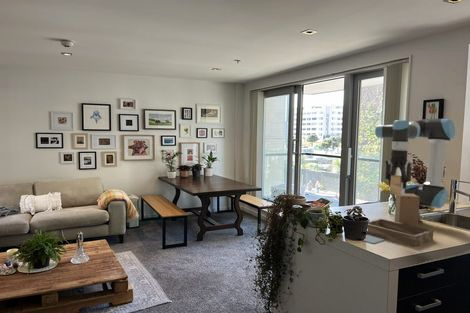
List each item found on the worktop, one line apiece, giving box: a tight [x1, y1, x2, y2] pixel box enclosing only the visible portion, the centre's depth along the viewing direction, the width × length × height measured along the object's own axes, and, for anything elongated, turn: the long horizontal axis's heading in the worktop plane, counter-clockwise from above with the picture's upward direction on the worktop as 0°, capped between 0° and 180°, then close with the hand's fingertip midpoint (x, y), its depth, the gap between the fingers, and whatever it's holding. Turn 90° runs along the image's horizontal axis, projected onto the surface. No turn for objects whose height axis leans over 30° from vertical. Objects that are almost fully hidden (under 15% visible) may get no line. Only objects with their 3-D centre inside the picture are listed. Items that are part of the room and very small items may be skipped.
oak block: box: [389, 174, 403, 196], centre depth 179 cm, size 5×5×10 cm
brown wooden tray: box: [366, 218, 434, 248], centre depth 181 cm, size 19×29×5 cm, turn 36°
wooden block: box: [394, 193, 420, 227], centre depth 194 cm, size 10×10×20 cm
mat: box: [362, 234, 385, 245], centre depth 174 cm, size 10×10×1 cm
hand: (396, 193), depth 179 cm, fingers closed on oak block, 5 cm apart
